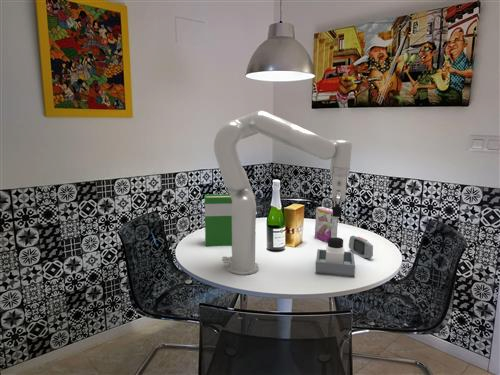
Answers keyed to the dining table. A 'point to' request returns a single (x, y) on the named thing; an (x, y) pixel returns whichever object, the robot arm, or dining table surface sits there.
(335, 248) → the medicine bottle
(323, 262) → the walled bin
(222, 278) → the dining table surface
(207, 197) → the hardback book
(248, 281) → the dining table surface
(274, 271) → the dining table surface
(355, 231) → the dining table surface
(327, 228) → the candy bar box
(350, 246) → the handheld gaming console
